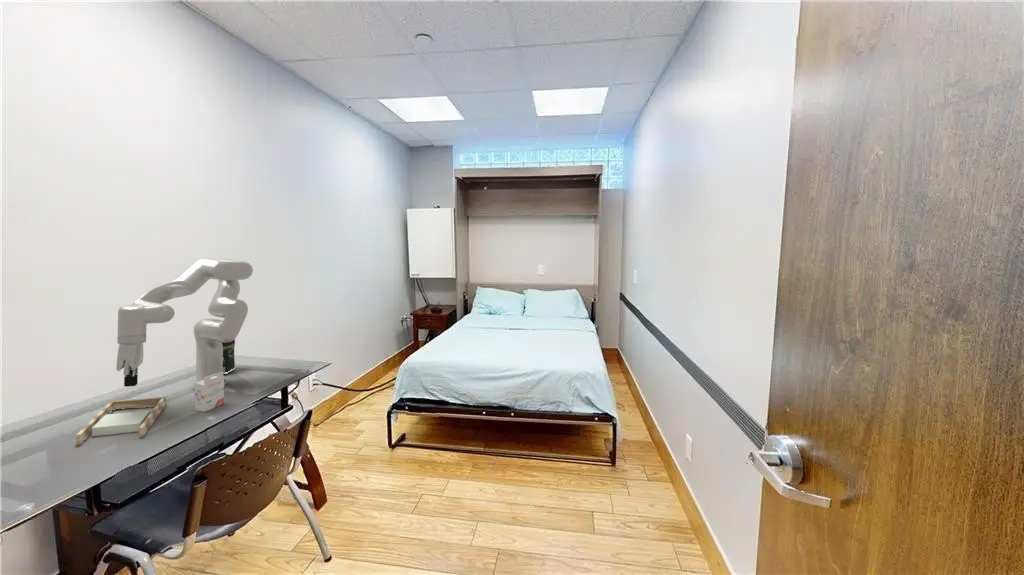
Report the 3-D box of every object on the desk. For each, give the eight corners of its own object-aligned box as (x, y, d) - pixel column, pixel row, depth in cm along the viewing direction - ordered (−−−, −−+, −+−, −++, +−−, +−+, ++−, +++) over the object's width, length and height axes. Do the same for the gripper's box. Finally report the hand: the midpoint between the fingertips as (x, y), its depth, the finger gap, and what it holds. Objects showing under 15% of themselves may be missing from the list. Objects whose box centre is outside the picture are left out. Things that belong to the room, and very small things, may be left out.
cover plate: (105, 423, 135) (105, 414, 134) (150, 419, 141) (150, 410, 140) (92, 437, 126) (91, 428, 126) (139, 432, 132) (139, 423, 132)
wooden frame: (110, 409, 143) (110, 401, 143) (165, 404, 151) (165, 396, 151) (76, 445, 121) (75, 435, 121) (142, 437, 129) (142, 427, 129)
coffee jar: (220, 368, 191) (220, 334, 189) (237, 369, 193) (238, 335, 191) (208, 375, 182) (209, 339, 180) (226, 376, 183) (227, 340, 181)
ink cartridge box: (214, 401, 158) (215, 368, 157) (224, 403, 157) (224, 370, 156) (193, 410, 150) (194, 375, 148) (203, 412, 149) (204, 377, 147)
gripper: (126, 333, 143) (125, 379, 144) (109, 344, 130) (108, 394, 132) (152, 333, 147) (151, 378, 148) (138, 343, 134) (137, 392, 135)
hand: (130, 385), depth 140 cm, fingers closed
